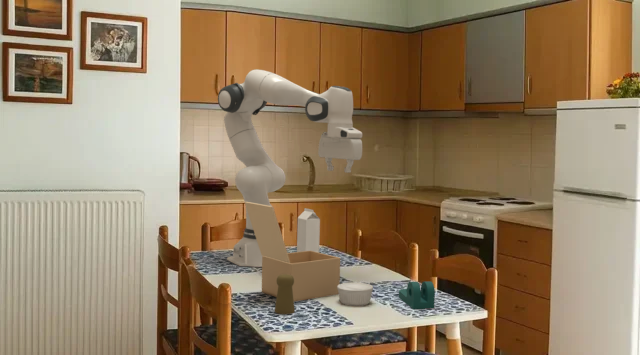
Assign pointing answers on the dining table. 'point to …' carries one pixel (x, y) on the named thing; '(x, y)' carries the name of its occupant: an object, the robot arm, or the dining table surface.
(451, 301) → the dining table surface
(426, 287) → the bracket
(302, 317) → the dining table surface
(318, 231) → the milk carton
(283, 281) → the olive pepper mill
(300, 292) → the kraft carton
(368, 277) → the dining table surface
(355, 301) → the ramekin
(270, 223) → the carton flap
